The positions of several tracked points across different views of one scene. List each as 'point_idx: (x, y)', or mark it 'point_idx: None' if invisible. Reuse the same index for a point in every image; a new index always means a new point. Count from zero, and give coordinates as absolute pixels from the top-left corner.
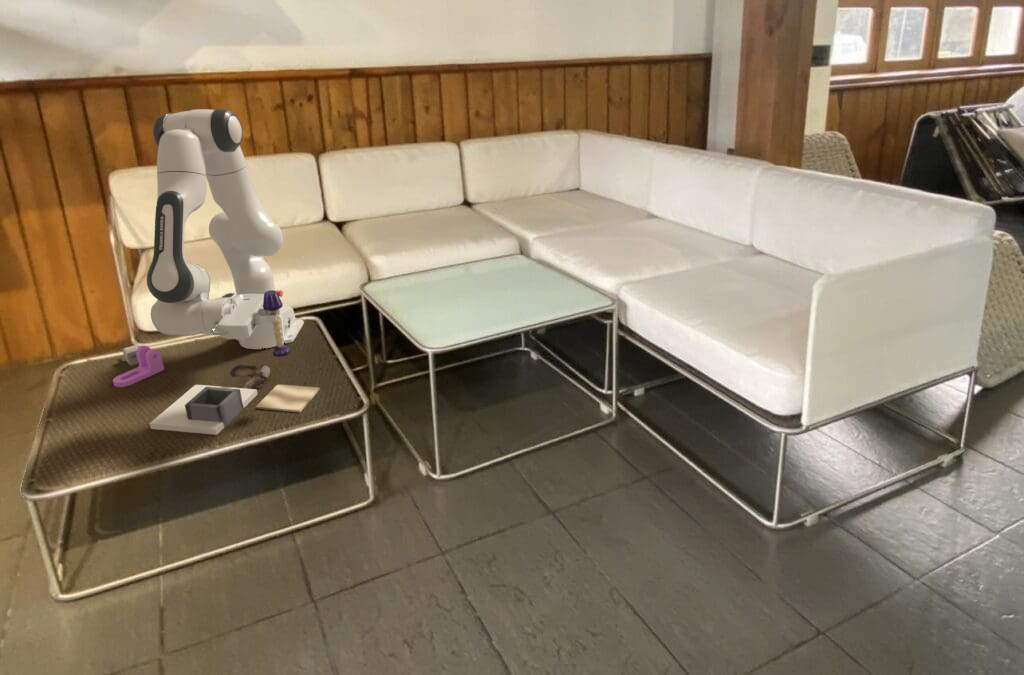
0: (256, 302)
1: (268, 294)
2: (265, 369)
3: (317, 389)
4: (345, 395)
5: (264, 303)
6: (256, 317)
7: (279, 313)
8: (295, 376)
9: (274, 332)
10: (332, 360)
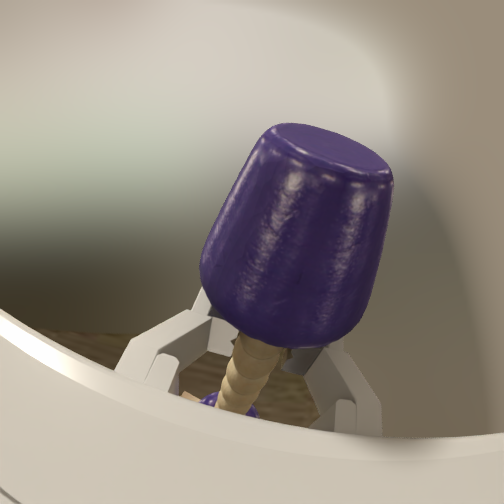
0: (40, 394)
1: (389, 169)
2: None
3: (193, 396)
4: (232, 351)
5: (362, 288)
6: (379, 428)
7: None
8: None
9: (249, 400)
10: (58, 336)
